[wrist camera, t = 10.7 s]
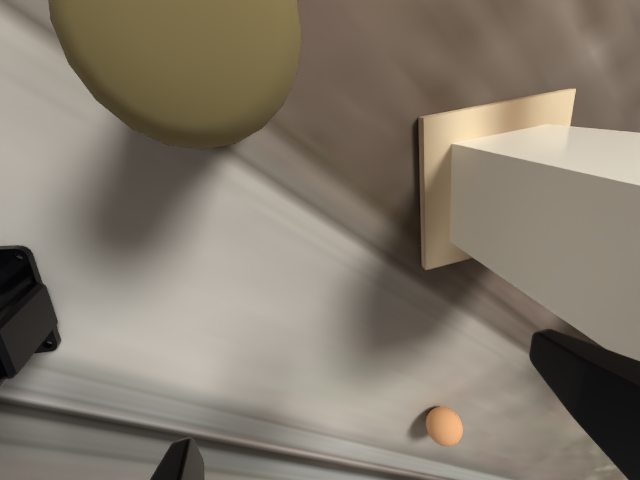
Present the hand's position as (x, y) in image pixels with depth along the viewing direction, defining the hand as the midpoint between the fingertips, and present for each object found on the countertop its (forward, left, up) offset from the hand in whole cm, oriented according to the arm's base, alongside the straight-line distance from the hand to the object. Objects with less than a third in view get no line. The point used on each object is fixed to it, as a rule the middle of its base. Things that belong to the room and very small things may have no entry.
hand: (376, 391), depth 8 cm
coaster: (+13, +2, -13) cm, 18 cm away
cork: (-4, +8, -13) cm, 16 cm away
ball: (+13, -19, -13) cm, 26 cm away
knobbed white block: (+13, +2, -12) cm, 18 cm away
